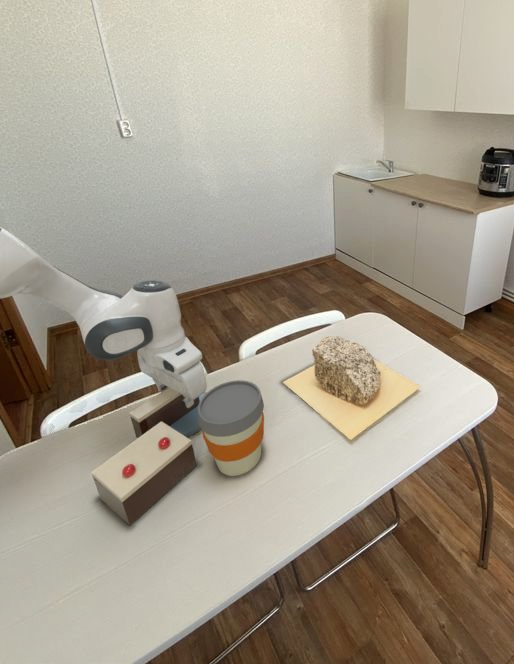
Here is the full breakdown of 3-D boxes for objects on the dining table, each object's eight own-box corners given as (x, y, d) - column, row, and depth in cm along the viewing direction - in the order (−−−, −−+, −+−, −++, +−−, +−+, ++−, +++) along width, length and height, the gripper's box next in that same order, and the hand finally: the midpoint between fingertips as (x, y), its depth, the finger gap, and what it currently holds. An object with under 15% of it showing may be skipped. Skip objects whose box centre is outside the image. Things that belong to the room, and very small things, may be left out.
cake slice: (136, 437, 85) (129, 412, 82) (191, 398, 96) (186, 375, 94) (144, 444, 83) (137, 419, 81) (200, 404, 94) (195, 381, 92)
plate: (133, 425, 90) (131, 421, 89) (188, 386, 102) (187, 383, 101) (172, 452, 83) (171, 448, 82) (227, 407, 95) (226, 403, 94)
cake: (100, 498, 73) (88, 465, 70) (167, 445, 84) (159, 414, 81) (130, 526, 68) (118, 491, 65) (197, 465, 79) (189, 433, 76)
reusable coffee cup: (233, 427, 89) (224, 374, 84) (280, 441, 85) (274, 387, 79) (194, 473, 78) (181, 415, 72) (246, 492, 74) (236, 432, 68)
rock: (280, 382, 102) (300, 324, 103) (336, 383, 118) (354, 332, 118) (348, 440, 83) (373, 367, 83) (406, 432, 98) (426, 371, 99)
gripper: (125, 342, 88) (137, 390, 93) (181, 371, 78) (192, 423, 83) (151, 329, 93) (161, 375, 98) (206, 354, 83) (215, 405, 88)
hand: (176, 397), depth 90 cm, fingers open, 8 cm apart
